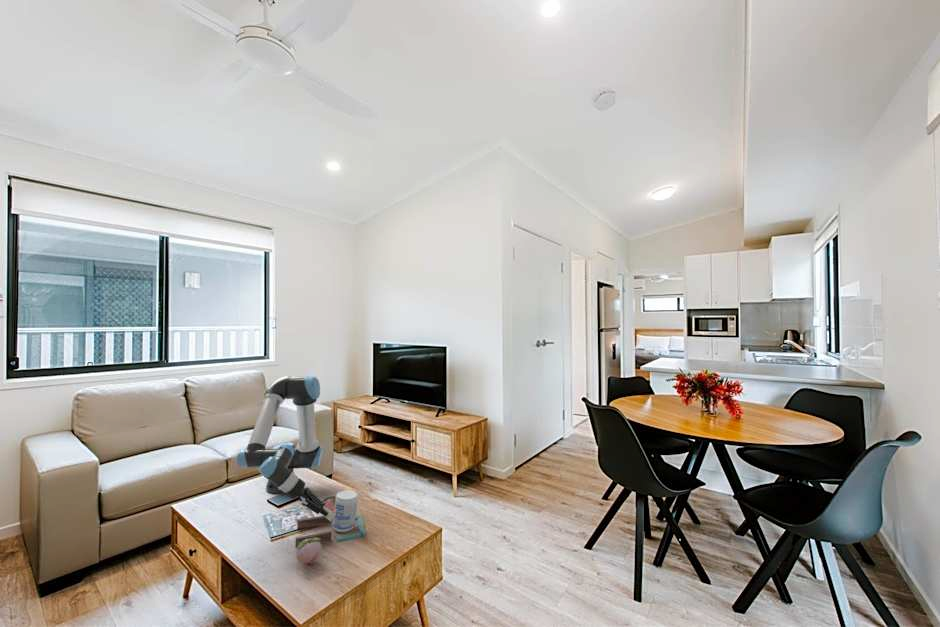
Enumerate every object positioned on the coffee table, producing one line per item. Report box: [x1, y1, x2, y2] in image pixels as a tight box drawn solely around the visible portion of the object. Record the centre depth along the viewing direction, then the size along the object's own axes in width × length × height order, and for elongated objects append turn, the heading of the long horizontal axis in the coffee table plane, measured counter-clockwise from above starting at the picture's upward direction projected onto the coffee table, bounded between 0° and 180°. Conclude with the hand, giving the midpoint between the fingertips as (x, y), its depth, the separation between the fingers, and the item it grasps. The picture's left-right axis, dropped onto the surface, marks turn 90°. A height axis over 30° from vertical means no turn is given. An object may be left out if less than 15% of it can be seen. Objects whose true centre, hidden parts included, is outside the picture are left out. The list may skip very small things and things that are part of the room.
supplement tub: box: [332, 489, 358, 533], centre depth 176 cm, size 10×10×15 cm
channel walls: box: [294, 515, 333, 549], centre depth 171 cm, size 16×14×4 cm
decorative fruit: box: [295, 537, 322, 565], centre depth 151 cm, size 9×8×10 cm
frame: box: [335, 514, 366, 542], centre depth 176 cm, size 17×12×1 cm
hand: (332, 517), depth 173 cm, fingers closed
